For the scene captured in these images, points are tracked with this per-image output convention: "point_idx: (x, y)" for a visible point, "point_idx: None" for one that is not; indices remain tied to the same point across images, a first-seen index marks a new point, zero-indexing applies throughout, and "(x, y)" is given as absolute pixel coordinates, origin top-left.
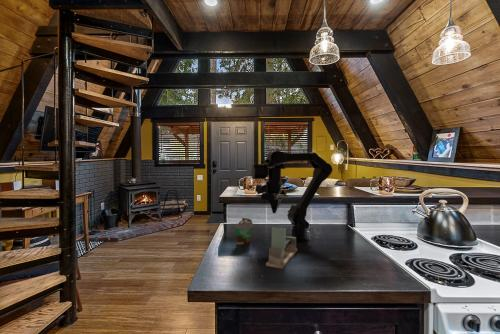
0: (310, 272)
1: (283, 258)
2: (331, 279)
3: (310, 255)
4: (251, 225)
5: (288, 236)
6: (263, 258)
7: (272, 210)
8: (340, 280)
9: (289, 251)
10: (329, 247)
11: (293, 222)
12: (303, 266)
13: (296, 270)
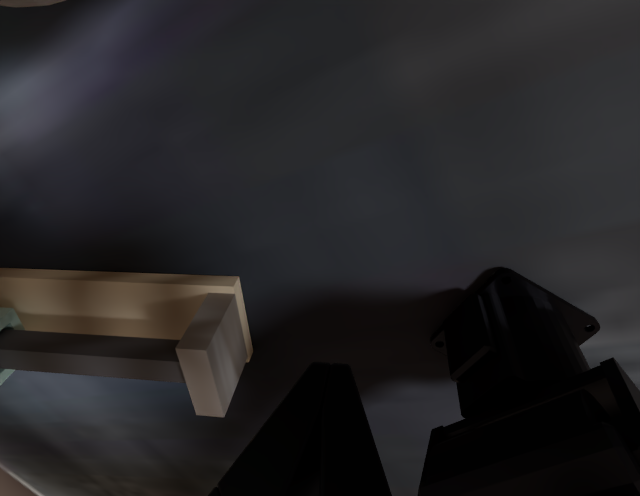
0: (53, 418)
1: (53, 331)
2: (60, 465)
3: None
4: (15, 1)
5: (207, 376)
6: (7, 221)
7: (285, 405)
8: (74, 482)
9: (167, 336)
10: (401, 467)
11: (442, 444)
12: (82, 395)
13: (26, 380)
